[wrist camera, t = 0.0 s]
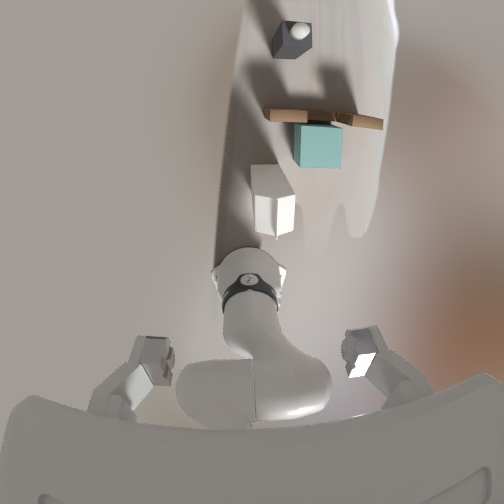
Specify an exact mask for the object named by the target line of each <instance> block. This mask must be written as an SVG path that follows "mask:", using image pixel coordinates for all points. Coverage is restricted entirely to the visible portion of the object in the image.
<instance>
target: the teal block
mask: <svg viewBox="0 0 504 504" xmlns="http://www.w3.org/2000/svg"><path fill="white" fill-rule="evenodd" d="M342 141H343V128H340V127H337V126H334V125H328V124H313V123H294V158H293V160H294V161H295V162H296V163H297V165H298V166H299V167H300V168H329V169H340V168H341V156H342Z"/></svg>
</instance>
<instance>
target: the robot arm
mask: <svg viewBox="0 0 504 504" xmlns="http://www.w3.org/2000/svg"><path fill="white" fill-rule="evenodd" d="M280 274H282V275H280ZM211 275H212V278H213V281H214V284H215V286H216V289H217V292H218V294H219V297H220V299H221V302H222V310H223V313H224V323H223V324H224V325H223V336H224V340H225V342H226V343H227V345H228V346H229V347H230V348H231V349H232V350H233V351H234V352H235V353H237V354H238V355H241V356H243V357H245V358H247V359H221V360H219V359H213V360H208V361H202V362H196V363H191V364H188V365H186V367H184V369H183V370H182V371H181V373H180V374H179V376H178V379H177V382H176V397H177V400H178V403H179V405H180V406H181V408H182V410H183V411H184V412H185V413H186V414H187V415H188V416H189V417H191V418H193V419H194V420H196V421H197V422H199V423H200V424H201V425H202V426H204V427H205V428H206V429H198V428H183V427H171V426H162V425H154V424H147V423H140V421H141V420H140V418H139V417H138V416H137V415H136V414H135V413H134V411H133V410H134V409H135V408H136V407H137V405H138V404H139V403H140V402H141V401H142V400H143V398H144V397H145V396H146V395H147V394H148V392H149V391H150V390H151V389H152V388H153V385H157V386H171V380H172V372H171V369H172V368H173V367H174V363H175V355H174V350H173V348H172V347H170V340H169V338H167V337H152V336H137V337H136V339H135V342H134V345H133V348H132V352H131V355H130V357H129V361H128V362H125V363H124V364H123V365H122V366H120V367H119V368H118V369H117V370H116V371H115V372H114V373H113V374H111V375H110V376H109V377H108V378H107V379H106V380H104V381H103V382H102V383H101V384H100V385H99V386H97V387H96V388H95V389H94V391H93V393H92V396H91V400H90V403H89V406H88V410H87V411H83V410H79V409H76V408H72V407H69V406H66V405H62V404H59V403H56V402H53V401H50V400H47V399H45V398H42V397H39V396H36V395H30V396H28V397H26V398H25V399H24V400H22V401H21V402H20V403H19V404H17V405H16V406H15V407H14V408H13V409H12V411H11V413H10V416H9V419H8V422H7V426H6V430H5V434H4V438H3V442H2V447H1V454H0V504H504V383H502V382H500V381H499V380H497V379H495V378H494V377H492V376H491V375H489V374H486V373H480V374H478V375H476V376H474V377H472V378H470V379H468V380H465V381H463V382H461V383H459V384H456V385H454V386H452V387H449V388H447V389H444V390H442V391H439V392H436V393H433V391H432V388H431V386H430V384H429V382H428V379H427V377H426V375H425V374H424V373H423V372H422V371H420V370H419V369H417V368H416V367H414V366H413V365H412V364H410V363H409V362H408V361H406V360H405V359H403V358H402V357H401V356H399V355H397V354H396V353H395V352H394V351H392V350H389V349H388V347H387V345H386V343H385V341H384V339H383V336H382V335H381V332H380V331H379V328H378V327H377V326H369V327H361V328H354V329H347V331H346V332H345V337H346V338H345V339H344V340H343V341H342V345H341V353H342V357H343V359H344V360H345V361H346V362H347V364H346V370H347V373H348V377H349V378H350V377H357V376H363V375H365V377H366V378H367V379H368V380H369V381H370V382H372V384H374V386H376V387H377V388H378V389H379V390H380V391H381V392H382V393H383V394H384V395H385V396H386V397H387V398H388V399H387V400H386V402H385V403H384V404H383V405H382V407H381V409H382V410H380V411H376V412H372V413H368V414H363V415H359V416H354V417H350V418H345V419H339V420H334V421H328V422H321V423H314V424H307V425H299V426H290V427H278V428H263V429H258V428H256V427H255V426H253V424H252V422H255V416H256V421H270V420H284V419H293V418H298V417H302V416H306V415H309V414H312V413H315V412H318V411H320V410H322V409H323V408H324V407H325V405H326V404H327V403H328V401H329V399H330V396H331V392H332V379H331V375H330V372H329V371H328V369H327V367H326V366H325V365H324V364H323V363H322V362H321V361H320V360H319V359H317V358H315V357H312V356H309V355H307V354H305V353H304V352H302V351H300V350H299V349H298V348H296V347H295V346H294V345H292V344H291V343H290V342H289V340H288V339H287V338H286V337H285V336H284V334H283V333H282V330H281V327H280V323H279V319H278V314H277V312H278V307H280V304H281V303H280V302H281V300H280V298H278V297H281V296H282V292H280V291H281V290H282V284H283V281H284V278H285V275H286V268H285V267H284V266H282V265H280V264H278V263H277V262H276V261H275V260H274V259H273V258H272V256H271V255H269V254H268V253H267V252H265V251H263V250H261V249H258V248H251V247H247V248H241V249H237V250H235V251H233V252H231V253H230V254H228V255H227V256H226V257H225V258H224V260H223V261H222V263H221V264H220V265H219V266H217V267H215V268H214V269H213V270H212V271H211ZM217 277H218V278H217ZM253 372H254V380H253ZM254 396H255V403H254Z"/></svg>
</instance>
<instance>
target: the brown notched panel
mask: <svg viewBox="0 0 504 504" xmlns="http://www.w3.org/2000/svg"><path fill="white" fill-rule="evenodd" d="M264 114H265V118H266V119H267V120H269V121H270V122H305V123H307V119H309V120H324V121H336V122H340V123H343V124H347V125H350V126H355V127H363V128H371V129H378V130H383V119H379V118H374V117H370V116H365V115H360V114H353V113H345V112H336V111H325V110H311V109H291V108H264Z"/></svg>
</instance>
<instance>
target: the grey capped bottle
mask: <svg viewBox="0 0 504 504" xmlns="http://www.w3.org/2000/svg"><path fill="white" fill-rule="evenodd" d="M272 42H273V58H276V59H296V58H298V57H299V56H300V55H302V54H303V53H305V52H306V51H308V50H309V49H310V48H312V26H311V23H305V22H294V21H282V22H281V24H280V26H279V28H278V30H277V32H276V33H275V35H274V37H273V39H272Z"/></svg>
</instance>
